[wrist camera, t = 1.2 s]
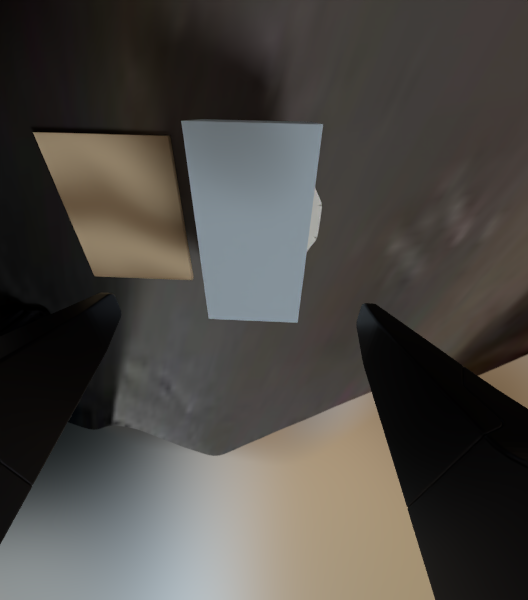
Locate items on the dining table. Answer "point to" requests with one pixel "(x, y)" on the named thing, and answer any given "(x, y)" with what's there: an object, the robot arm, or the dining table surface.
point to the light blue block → (252, 212)
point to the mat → (121, 202)
